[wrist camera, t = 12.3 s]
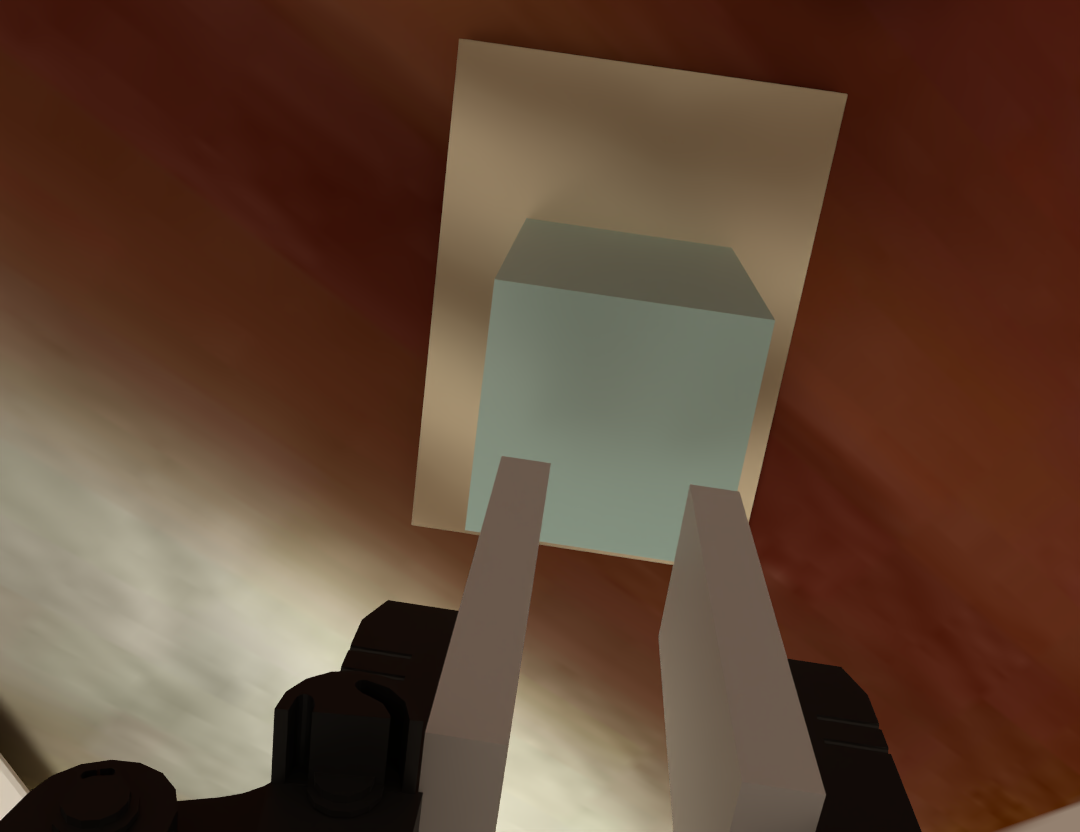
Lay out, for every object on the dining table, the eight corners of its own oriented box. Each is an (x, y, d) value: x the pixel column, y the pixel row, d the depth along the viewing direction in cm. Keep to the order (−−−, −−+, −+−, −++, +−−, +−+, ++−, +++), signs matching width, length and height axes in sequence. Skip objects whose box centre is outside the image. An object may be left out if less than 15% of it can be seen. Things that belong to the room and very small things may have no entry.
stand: (465, 39, 27) (415, 35, 20) (837, 92, 26) (914, 106, 20) (418, 508, 32) (365, 632, 25) (732, 555, 31) (764, 693, 25)
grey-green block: (502, 410, 29) (464, 530, 22) (526, 218, 27) (494, 279, 20) (693, 439, 29) (719, 569, 22) (731, 247, 27) (775, 320, 20)
